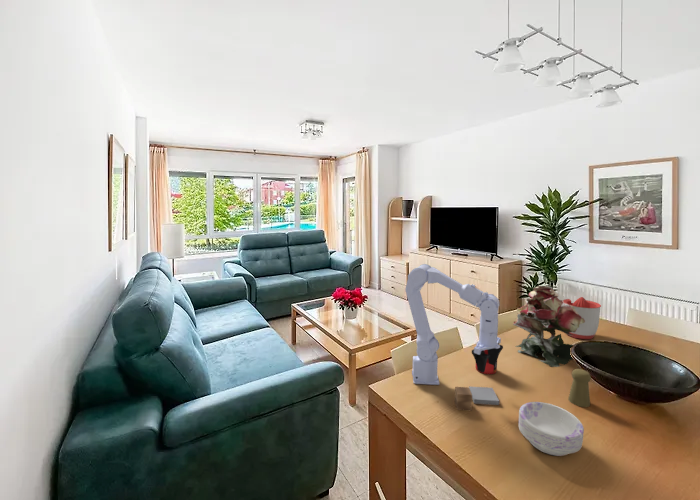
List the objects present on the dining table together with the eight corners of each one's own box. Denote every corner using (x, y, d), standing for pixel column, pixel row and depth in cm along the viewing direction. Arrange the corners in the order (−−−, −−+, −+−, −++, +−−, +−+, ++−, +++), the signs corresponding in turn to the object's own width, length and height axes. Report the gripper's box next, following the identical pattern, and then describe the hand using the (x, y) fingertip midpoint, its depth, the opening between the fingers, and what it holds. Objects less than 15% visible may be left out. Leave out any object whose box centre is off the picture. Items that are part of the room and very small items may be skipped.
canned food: (498, 375, 128) (500, 348, 126) (477, 373, 129) (478, 347, 128) (494, 366, 135) (495, 340, 134) (473, 364, 137) (474, 339, 135)
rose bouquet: (588, 351, 148) (593, 286, 144) (557, 370, 131) (563, 297, 127) (530, 334, 169) (533, 276, 165) (498, 348, 152) (501, 285, 148)
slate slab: (474, 404, 110) (474, 399, 110) (468, 391, 118) (468, 386, 118) (499, 406, 109) (499, 400, 109) (492, 392, 117) (492, 387, 117)
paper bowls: (583, 473, 81) (586, 444, 80) (515, 450, 89) (516, 423, 88) (579, 436, 94) (582, 411, 92) (520, 419, 101) (521, 395, 100)
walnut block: (457, 409, 107) (457, 394, 106) (454, 401, 111) (455, 386, 110) (471, 410, 106) (472, 395, 105) (468, 402, 110) (469, 387, 110)
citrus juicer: (587, 329, 173) (590, 292, 171) (604, 342, 157) (608, 302, 154) (554, 327, 177) (557, 291, 174) (568, 340, 160) (571, 300, 158)
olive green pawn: (586, 398, 112) (589, 368, 111) (593, 408, 106) (595, 376, 105) (566, 395, 114) (568, 365, 112) (571, 405, 108) (573, 373, 107)
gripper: (488, 339, 105) (486, 379, 107) (510, 328, 114) (507, 365, 116) (468, 333, 110) (467, 371, 112) (490, 323, 119) (488, 358, 121)
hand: (486, 367), depth 114 cm, fingers open, 7 cm apart
